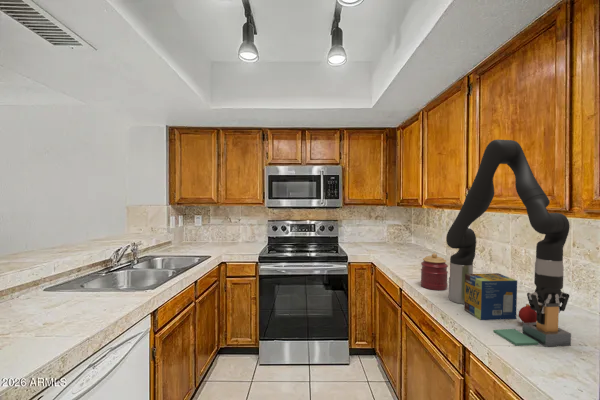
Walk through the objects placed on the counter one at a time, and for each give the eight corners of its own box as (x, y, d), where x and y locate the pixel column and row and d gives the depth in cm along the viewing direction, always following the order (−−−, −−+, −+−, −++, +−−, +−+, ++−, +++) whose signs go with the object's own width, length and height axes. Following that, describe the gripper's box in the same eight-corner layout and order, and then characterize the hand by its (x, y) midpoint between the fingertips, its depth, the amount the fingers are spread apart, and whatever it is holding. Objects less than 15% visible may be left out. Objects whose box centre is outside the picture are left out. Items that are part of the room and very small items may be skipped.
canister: (442, 283, 169) (442, 251, 168) (451, 291, 156) (452, 256, 155) (417, 282, 170) (418, 250, 169) (424, 290, 157) (425, 255, 156)
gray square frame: (522, 334, 109) (522, 322, 109) (545, 333, 110) (546, 321, 110) (545, 346, 100) (545, 334, 100) (570, 345, 101) (571, 333, 101)
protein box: (463, 310, 131) (464, 273, 130) (497, 309, 132) (498, 272, 132) (480, 320, 120) (481, 280, 120) (517, 319, 122) (518, 279, 121)
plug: (536, 337, 106) (537, 299, 106) (546, 336, 107) (547, 299, 106) (546, 343, 102) (547, 304, 102) (557, 342, 103) (558, 303, 102)
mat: (493, 331, 110) (493, 329, 110) (514, 331, 111) (514, 328, 111) (515, 345, 100) (516, 343, 100) (538, 344, 101) (538, 342, 101)
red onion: (529, 322, 119) (530, 301, 119) (541, 328, 113) (542, 307, 113) (514, 322, 119) (515, 301, 119) (526, 328, 113) (526, 307, 113)
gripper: (557, 269, 108) (556, 318, 109) (520, 270, 107) (518, 319, 107) (579, 275, 101) (577, 327, 101) (539, 276, 99) (537, 329, 100)
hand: (547, 323), depth 104 cm, fingers closed on plug, 4 cm apart
